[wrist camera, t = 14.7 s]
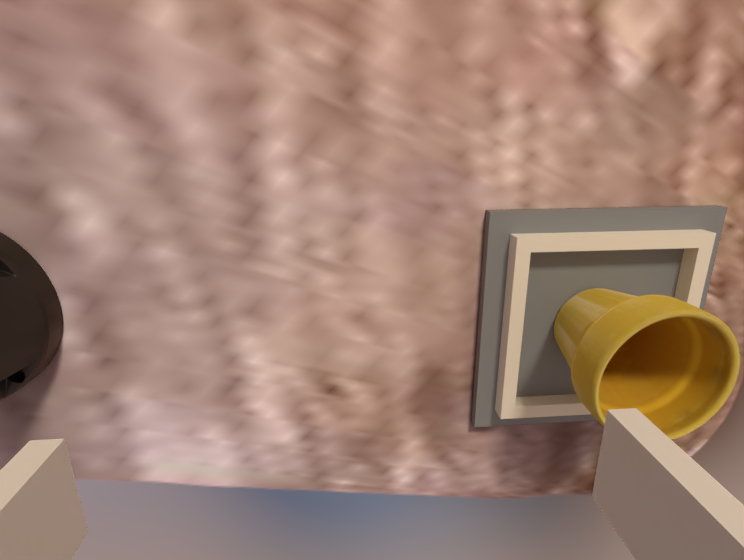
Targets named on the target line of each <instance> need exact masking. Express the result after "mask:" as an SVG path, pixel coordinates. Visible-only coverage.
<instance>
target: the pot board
mask: <svg viewBox="0 0 744 560" xmlns="http://www.w3.org/2000/svg"><path fill="white" fill-rule="evenodd" d="M726 210H727V207H723V206H669V207H618V208H567V209H516V210H486V219H485V233H484V247H483V262H482V276H481V290H480V305H479V319H478V333H477V347H476V362H475V376H474V390H473V405H472V419H471V421H472V423H473V425H474V427H488V426H506V425H524V424H542V423H561V422H579V421H597V420H596V419H595V417H594V416H593V415H592V414H591V413H590V412H589V410H588V409H587V408H586V407H585V406H584V404H583V403H582V402H581V400H580V399H579V397H578V396H577V394H576V392H575V390H574V387H573V384H572V379H571V368H570V367H569V365H568V363H567V361H566V359H565V357H564V355H563V353H562V351H561V349H560V348H559V346H558V344H557V342H556V339H555V336H554V323H555V319H556V317H557V314H558V312H559V311H560V309H561V307H562V306H563V305H564V304H565V303H566V302H567V301H568V300H569V299H570V298H571V297H573V296H574V295H576V294H578V293H579V292H582V291H585V290H588V289H593V288H604V289H609V290H613V291H617V292H622V293H626V294H630V295H635V296H643V295H665V296H670V297H673V298H676V299H679V300H681V301H684V302H686V303H689V304H691V305H693V306H695V307H698V308H700V309H702V310H703V309H704V305H705V301H706V297H707V292H708V288H709V284H710V279H711V275H712V271H713V266H714V262H715V258H716V253H717V249H718V245H719V241H720V236H721V232H722V228H723V223H724V219H725V215H726Z"/></svg>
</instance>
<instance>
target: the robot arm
mask: <svg viewBox="0 0 744 560" xmlns="http://www.w3.org/2000/svg"><path fill="white" fill-rule="evenodd" d="M61 334H62V312H61V307H60V303H59V299H58V297H57V294H56V291H55V289H54V287H53V285H52V283H51V281H50V279H49V278H48V276H47V275H46V273H45V272H44V270H43V269H42V268H41V266H40V265H39V264H38V263H37V261H36V260H35V259H34V258H33V257H32V256H31V255H30V254H29V253H28V252H27V251H26V250H25V249H23V248H22V247H21V246H20V245H19V244H17V243H16V242H15V241H13V240H12V239H10V238H9V237H7V236H6V235H4V234H2V233H1V232H0V400H1V399H3V398H5V397H7V396H9V395H11V394H13V393H15V392H16V391H18V390H19V389H21V388H22V387H23V386H25V385H26V384H27V383H28V382H30V381H31V380H32V379H33V378H35V377H36V376H37V375H38V374H40V373H41V372H42V371H43V370H44V369H45V368H46V367H47V365H48V364H49V363H50V362H51V360H52V359H53V357H54V355H55V353H56V351H57V349H58V346H59V343H60V339H61ZM592 498H593V500H594V501H595V503H596V504H597V505H598V507H599V508H600V510H601V511H602V512H603V514H604V515H605V517H606V518H607V519H608V521H609V522H610V524H611V525H612V527H613V528H614V529H615V531H616V532H617V534H618V535H619V536H620V538H621V539H622V541H623V542H624V543H625V545H626V546H627V548H628V549H629V550H630V552H631V553H632V555H633V556H634V557H635V559H636V560H744V505H743V504H742V503H740V502H739V501H738V500H737V499H736V498H735V497H734V496H733V495H731V494H730V493H729V492H728V491H727V490H726V489H725V488H724V487H722V485H720V484H719V483H718V482H717V481H716V480H715V479H714V478H713V477H712V476H710V475H709V474H708V473H707V472H706V471H705V470H704V469H703V468H702V467H701V466H700V465H698V464H697V463H696V462H695V461H694V460H693V459H692V458H691V457H690V456H688V455H687V454H686V453H685V452H684V451H683V450H682V449H681V448H680V447H679V446H677V445H676V444H675V443H674V442H673V441H672V440H671V439H670V438H669V437H667V436H666V435H665V434H664V433H663V432H662V431H661V430H660V429H659V428H658V427H656V426H655V425H654V424H653V423H652V422H651V421H650V420H649V419H648V418H646V417H645V416H644V415H643V414H642V413H641V412H640V411H639V410H638V409H637V408H630V409H611V410H607V414H606V420H605V425H604V431H603V437H602V443H601V448H600V454H599V460H598V465H597V471H596V477H595V483H594V488H593V494H592ZM87 533H88V529H87V525H86V521H85V517H84V513H83V509H82V505H81V501H80V497H79V493H78V489H77V485H76V481H75V477H74V473H73V469H72V465H71V461H70V458H69V454H68V450H67V446H66V442H65V439H50V440H31V441H29V442H28V443H27V444H26V445H25V446H24V447H23V448H22V449H21V450H20V451H19V452H18V453H17V454H16V455H15V456H14V457H13V458H12V459H11V460H10V461H9V462H8V463H7V464H6V465H5V466H4V467H3V468H2V469H1V470H0V560H71V559H72V557H73V555H74V554H75V552H76V551H77V549H78V547H79V546H80V544H81V543H82V541H83V539H84V538H85V536H86V535H87Z"/></svg>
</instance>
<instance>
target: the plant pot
mask: <svg viewBox="0 0 744 560" xmlns="http://www.w3.org/2000/svg"><path fill="white" fill-rule="evenodd" d="M554 336H555V339H556V342H557V344H558V346H559V348H560V349H561V351H562V353H563V355H564V357H565V359H566V361H567V363H568V365H569V367H570V368H571V379H572V384H573V387H574V390H575V392H576V394H577V396H578V397H579V399H580V400H581V402H582V403H583V404H584V406H585V407H586V408H587V409H588V410H589V412H590V413H591V414H592V415H593V416H594V417H595V419H596V420H597V421H598V422H599V423H600V424H601V425H602V426H603V427H604V425H605V420H606V414H607V410H611V409H630V408H637V409H638V410H639V411H640V412H641V413H642V414H643V415H644V416H645V417H646V418H648V419H649V420H650V421H651V422H652V423H653V424H654V425H655V426H656V427H658V428H659V429H660V430H661V431H662V432H663V433H664V434H665V435H666V436H667V437H669V438H670V439H671V440H674V439H677V438H680V437H682V436H684V435H686V434H688V433H690V432H692V431H694V430H696V429H697V428H699V427H700V426H702V425H703V424H704V423H706V422H707V421H708V420H709V419H710V418H712V417H713V416H714V415H715V414H716V413H717V412H718V411H719V409H720V408H721V407H722V406H723V405H724V403H725V402H726V400H727V399H728V397H729V396H730V394H731V392H732V390H733V388H734V386H735V383H736V380H737V377H738V373H739V368H740V352H739V347H738V343H737V340H736V338H735V336H734V334H733V333H732V331H731V330H730V329H729V327H728V326H727V325H726V324H725V323H724V322H722V321H721V320H720V319H718V318H717V317H715V316H713V315H712V314H710V313H708V312H706V311H704V310H702V309H700V308H698V307H695V306H693V305H691V304H689V303H686V302H684V301H681V300H679V299H676V298H673V297H670V296H665V295H643V296H635V295H630V294H626V293H622V292H617V291H613V290H609V289H604V288H593V289H588V290H585V291H582V292H579V293H578V294H576V295H574V296H573V297H571V298H570V299H569V300H568V301H567V302H566V303H565V304H564V305H563V306H562V307H561V309H560V311H559V312H558V314H557V317H556V319H555V323H554Z"/></svg>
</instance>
